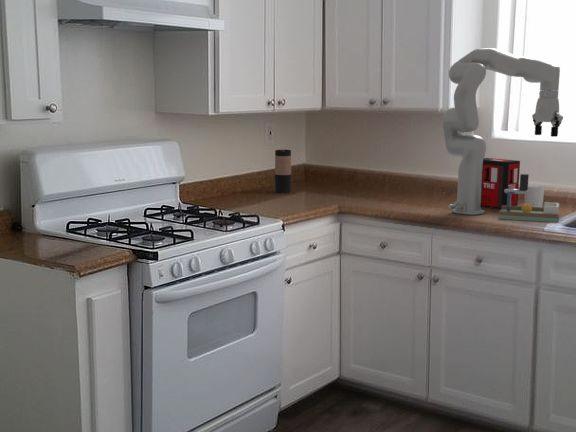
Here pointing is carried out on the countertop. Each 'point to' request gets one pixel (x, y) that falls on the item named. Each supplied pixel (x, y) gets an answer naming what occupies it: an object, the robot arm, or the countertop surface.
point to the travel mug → (282, 171)
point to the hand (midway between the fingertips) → (545, 135)
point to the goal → (551, 208)
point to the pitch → (527, 214)
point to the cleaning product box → (499, 182)
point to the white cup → (534, 195)
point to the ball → (526, 207)
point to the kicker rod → (522, 189)
